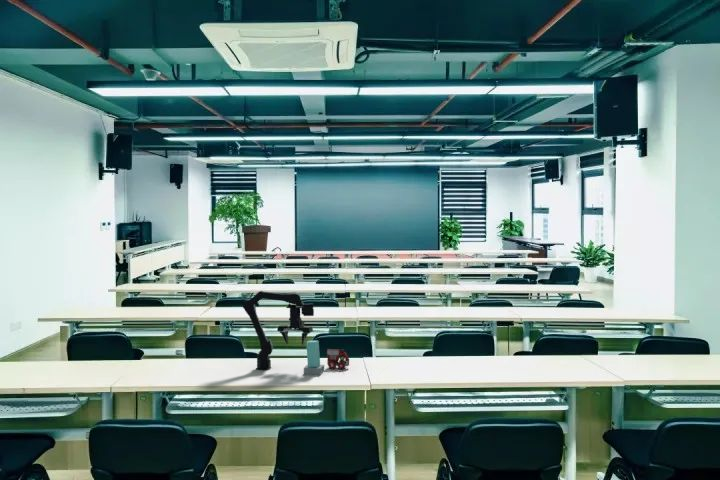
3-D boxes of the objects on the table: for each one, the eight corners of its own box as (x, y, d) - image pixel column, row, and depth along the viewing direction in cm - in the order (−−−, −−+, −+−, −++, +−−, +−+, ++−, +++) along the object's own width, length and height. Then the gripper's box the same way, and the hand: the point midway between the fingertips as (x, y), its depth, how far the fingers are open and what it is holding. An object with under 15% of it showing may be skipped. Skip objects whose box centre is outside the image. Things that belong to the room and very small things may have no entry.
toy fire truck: (348, 370, 339) (348, 350, 339) (325, 369, 341) (325, 350, 340) (349, 367, 346) (350, 348, 346) (327, 366, 347) (327, 347, 347)
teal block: (307, 366, 329) (306, 342, 330) (311, 365, 334) (309, 340, 334) (316, 366, 328) (315, 342, 328) (320, 364, 333) (318, 340, 333)
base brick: (303, 375, 327) (303, 367, 327) (307, 371, 336) (307, 364, 336) (320, 376, 326) (320, 368, 326) (324, 372, 335) (324, 364, 335)
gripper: (316, 314, 346) (316, 343, 347) (285, 313, 352) (285, 341, 352) (308, 317, 336) (308, 346, 336) (277, 316, 341) (277, 344, 341)
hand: (295, 344), depth 342 cm, fingers open, 9 cm apart
